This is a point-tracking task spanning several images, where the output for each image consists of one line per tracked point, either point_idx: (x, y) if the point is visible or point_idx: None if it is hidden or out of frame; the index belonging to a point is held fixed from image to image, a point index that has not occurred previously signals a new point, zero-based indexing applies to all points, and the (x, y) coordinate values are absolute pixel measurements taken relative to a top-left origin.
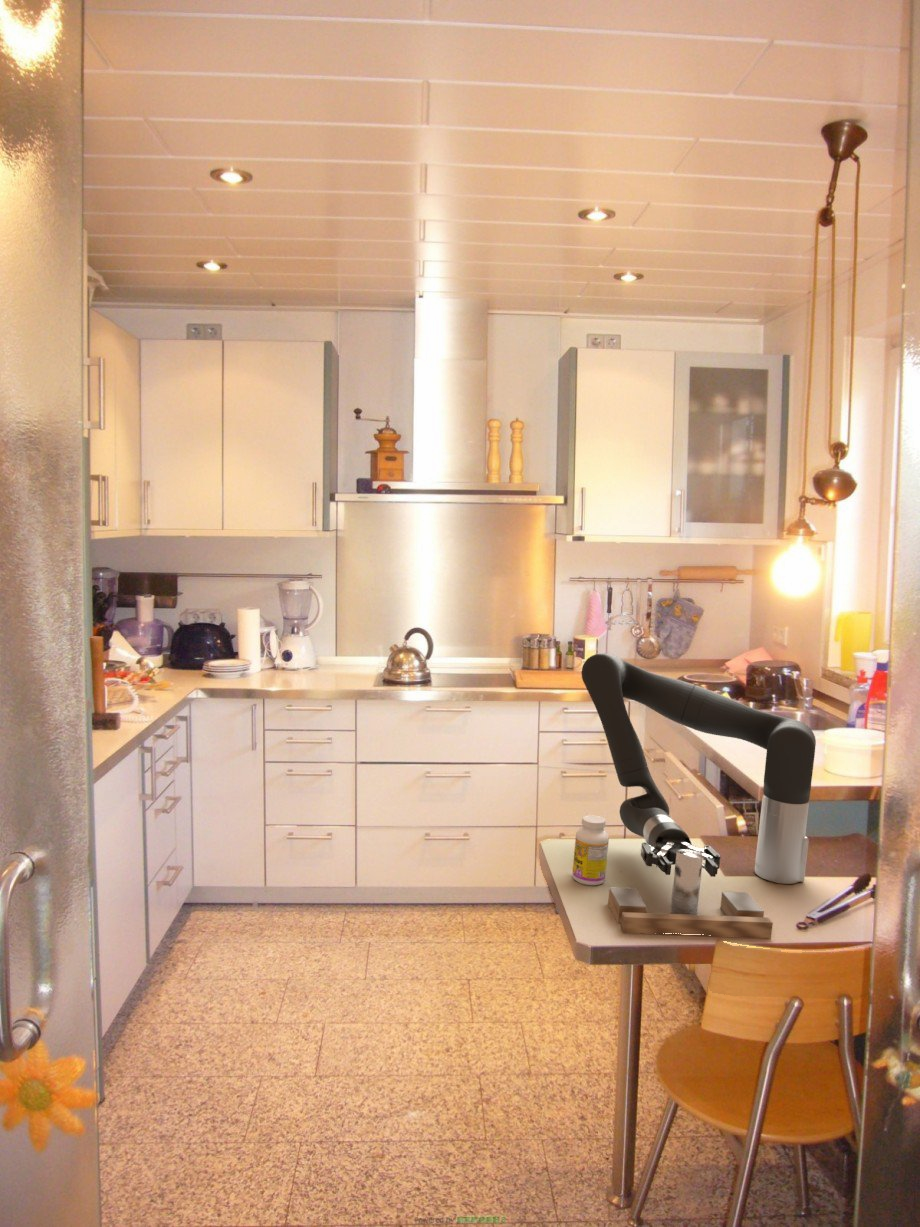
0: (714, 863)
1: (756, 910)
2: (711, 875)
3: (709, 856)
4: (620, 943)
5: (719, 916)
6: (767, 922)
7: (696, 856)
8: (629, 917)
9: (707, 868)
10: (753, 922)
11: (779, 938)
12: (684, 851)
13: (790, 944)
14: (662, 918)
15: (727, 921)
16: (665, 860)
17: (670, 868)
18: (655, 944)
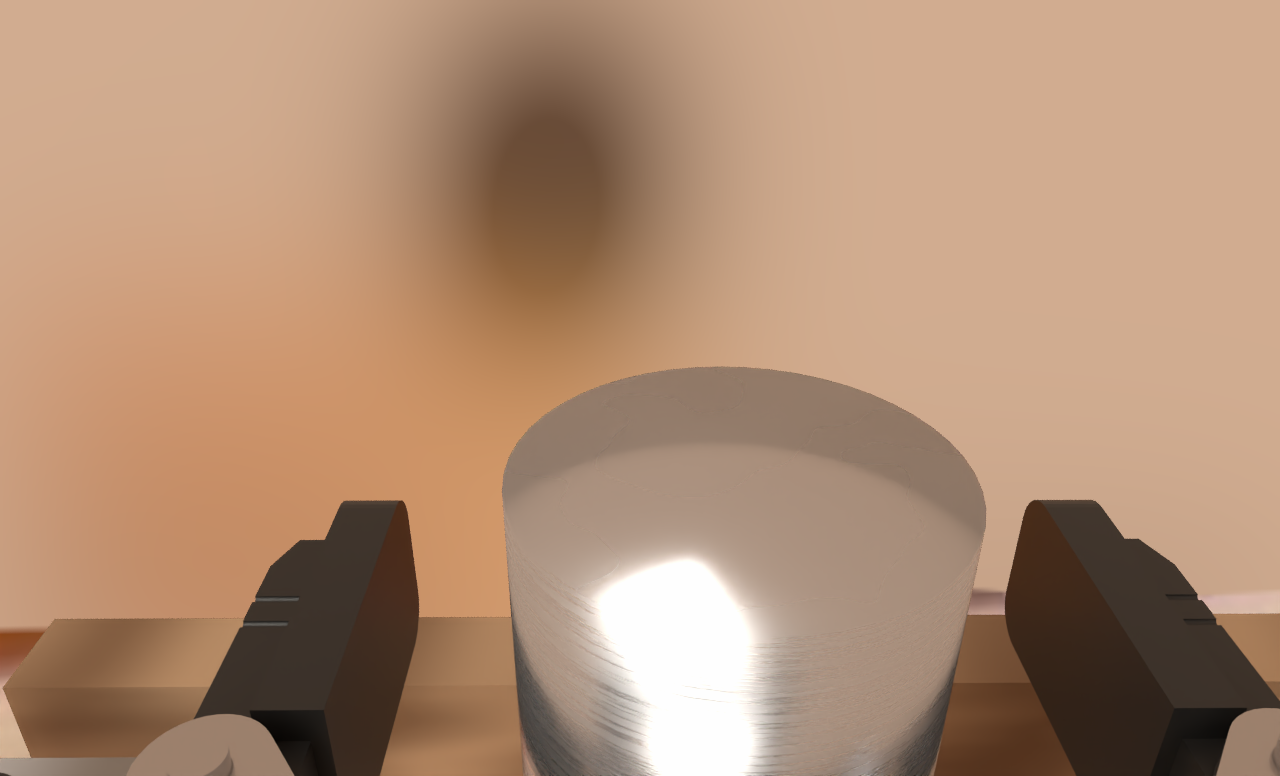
0: (253, 642)
1: (8, 764)
2: (416, 616)
3: (216, 735)
4: (1232, 606)
5: (472, 671)
6: (98, 621)
7: (644, 422)
8: (1261, 616)
9: (370, 737)
10: (220, 622)
11: (12, 728)
12: (818, 544)
13: (16, 661)
14: (988, 615)
15: (443, 618)
16: (1141, 573)
17: (1026, 536)
18: (1001, 609)
